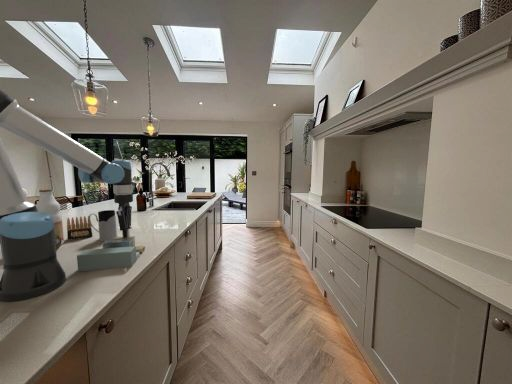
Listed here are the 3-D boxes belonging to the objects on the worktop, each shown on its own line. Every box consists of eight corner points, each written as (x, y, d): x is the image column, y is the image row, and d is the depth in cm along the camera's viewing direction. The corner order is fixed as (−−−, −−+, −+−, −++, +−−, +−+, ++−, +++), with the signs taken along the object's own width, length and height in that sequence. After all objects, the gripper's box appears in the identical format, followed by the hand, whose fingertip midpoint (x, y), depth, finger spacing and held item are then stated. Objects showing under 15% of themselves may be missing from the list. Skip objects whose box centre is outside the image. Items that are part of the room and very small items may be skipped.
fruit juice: (55, 248, 105) (49, 189, 102) (32, 249, 103) (26, 190, 100) (68, 242, 114) (63, 188, 111) (48, 243, 112) (42, 188, 110)
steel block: (129, 257, 93) (128, 241, 93) (103, 259, 91) (102, 243, 90) (133, 254, 97) (132, 238, 96) (107, 256, 95) (106, 240, 94)
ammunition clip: (92, 236, 124) (91, 215, 123) (92, 236, 123) (90, 215, 122) (68, 239, 119) (66, 217, 117) (67, 240, 117) (65, 218, 116)
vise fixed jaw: (131, 266, 84) (130, 251, 84) (78, 271, 81) (76, 255, 80) (139, 256, 94) (138, 243, 94) (92, 260, 90) (90, 246, 90)
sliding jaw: (142, 253, 98) (141, 240, 97) (96, 256, 94) (95, 243, 94) (146, 247, 105) (145, 235, 104) (104, 250, 101) (103, 238, 100)
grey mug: (110, 241, 115) (109, 213, 114) (84, 241, 115) (82, 213, 114) (121, 236, 124) (119, 209, 122) (96, 236, 124) (94, 209, 123)
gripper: (127, 195, 96) (130, 247, 99) (136, 192, 109) (139, 238, 111) (108, 195, 95) (112, 248, 97) (119, 192, 107) (123, 239, 110)
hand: (126, 242), depth 104 cm, fingers closed
